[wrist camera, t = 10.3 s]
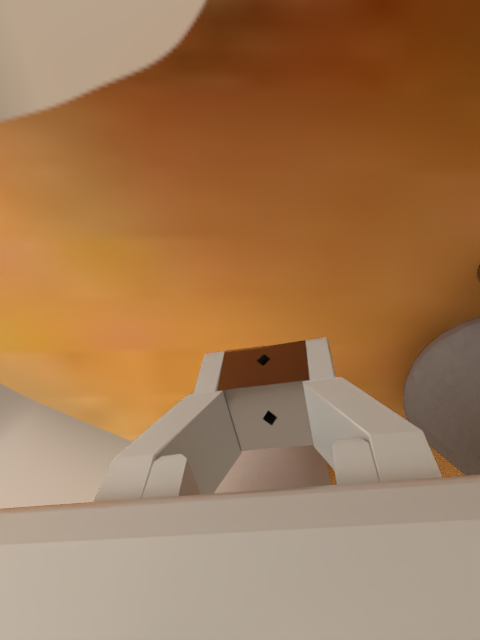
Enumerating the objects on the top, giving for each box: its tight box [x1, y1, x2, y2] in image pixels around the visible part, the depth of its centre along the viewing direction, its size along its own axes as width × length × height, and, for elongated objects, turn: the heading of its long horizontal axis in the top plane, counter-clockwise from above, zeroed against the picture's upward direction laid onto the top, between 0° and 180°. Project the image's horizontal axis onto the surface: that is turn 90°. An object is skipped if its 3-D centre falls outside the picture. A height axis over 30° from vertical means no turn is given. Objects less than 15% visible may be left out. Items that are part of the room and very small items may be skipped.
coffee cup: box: [213, 445, 332, 494], centre depth 25 cm, size 10×10×15 cm
